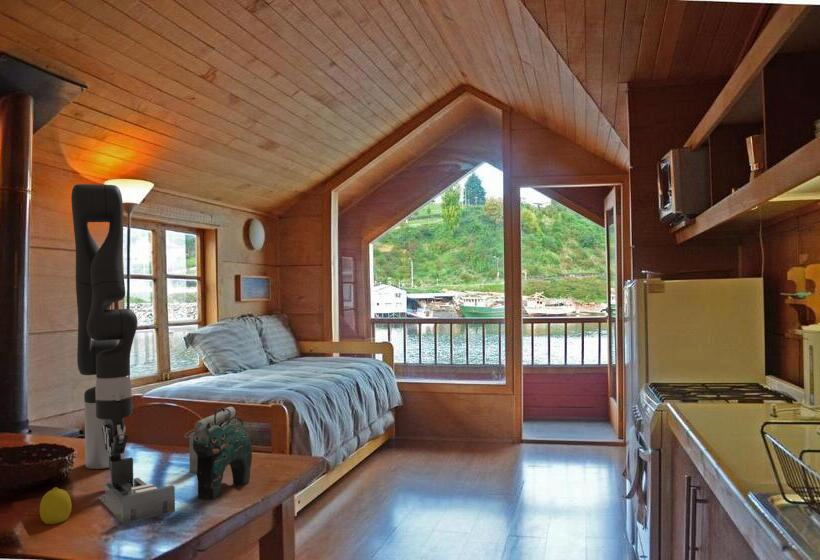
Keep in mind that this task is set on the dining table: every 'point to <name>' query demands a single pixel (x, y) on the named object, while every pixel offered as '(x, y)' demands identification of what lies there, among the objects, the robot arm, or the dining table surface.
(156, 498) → the grey open box
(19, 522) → the dining table surface
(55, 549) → the dining table surface
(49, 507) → the lemon
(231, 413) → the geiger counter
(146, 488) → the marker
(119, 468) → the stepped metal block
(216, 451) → the green animal figurine
